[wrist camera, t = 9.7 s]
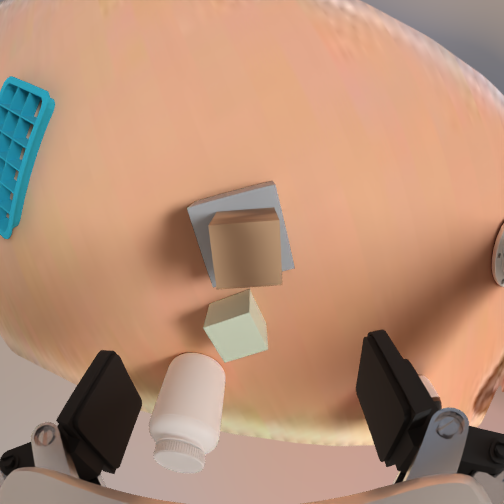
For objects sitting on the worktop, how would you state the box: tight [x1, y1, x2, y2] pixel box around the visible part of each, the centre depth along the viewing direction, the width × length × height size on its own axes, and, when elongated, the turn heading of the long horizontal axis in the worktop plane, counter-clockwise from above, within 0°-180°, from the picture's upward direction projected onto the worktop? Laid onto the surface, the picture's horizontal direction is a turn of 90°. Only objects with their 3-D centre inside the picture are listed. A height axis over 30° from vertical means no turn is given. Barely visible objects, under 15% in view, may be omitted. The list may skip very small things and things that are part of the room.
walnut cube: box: [208, 207, 282, 289], centre depth 23 cm, size 5×5×5 cm
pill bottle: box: [149, 353, 225, 473], centre depth 28 cm, size 8×8×15 cm
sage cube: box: [203, 289, 268, 362], centre depth 30 cm, size 5×5×5 cm
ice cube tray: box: [0, 76, 55, 239], centre depth 24 cm, size 12×20×3 cm, turn 149°
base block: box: [187, 181, 295, 287], centre depth 27 cm, size 8×8×4 cm
